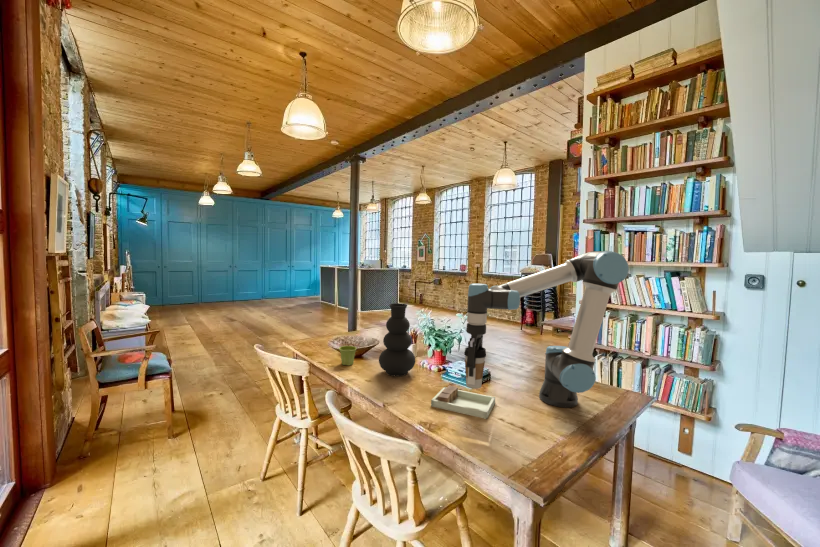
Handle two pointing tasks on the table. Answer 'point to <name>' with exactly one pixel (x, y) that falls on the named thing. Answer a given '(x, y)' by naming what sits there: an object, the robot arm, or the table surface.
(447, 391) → the walnut block
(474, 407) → the tray
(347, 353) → the plant pot
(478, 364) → the coffee cup
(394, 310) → the vase
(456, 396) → the walnut block
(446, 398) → the walnut block
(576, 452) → the table surface
